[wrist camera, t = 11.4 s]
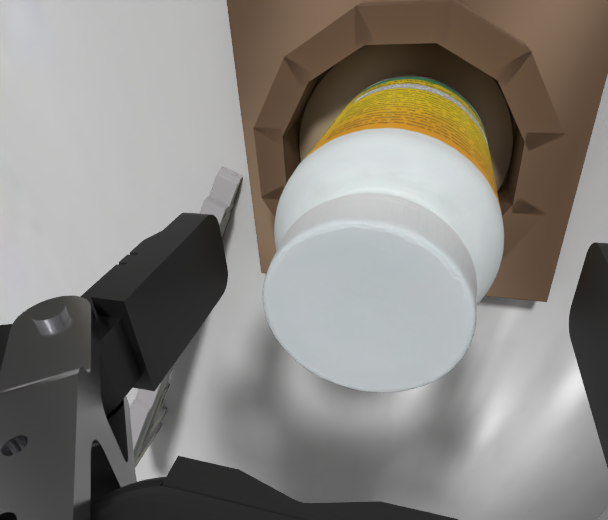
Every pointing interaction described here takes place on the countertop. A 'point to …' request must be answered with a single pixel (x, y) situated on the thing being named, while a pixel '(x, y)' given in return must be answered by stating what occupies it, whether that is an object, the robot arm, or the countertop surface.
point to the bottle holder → (448, 69)
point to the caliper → (149, 403)
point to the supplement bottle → (387, 239)
